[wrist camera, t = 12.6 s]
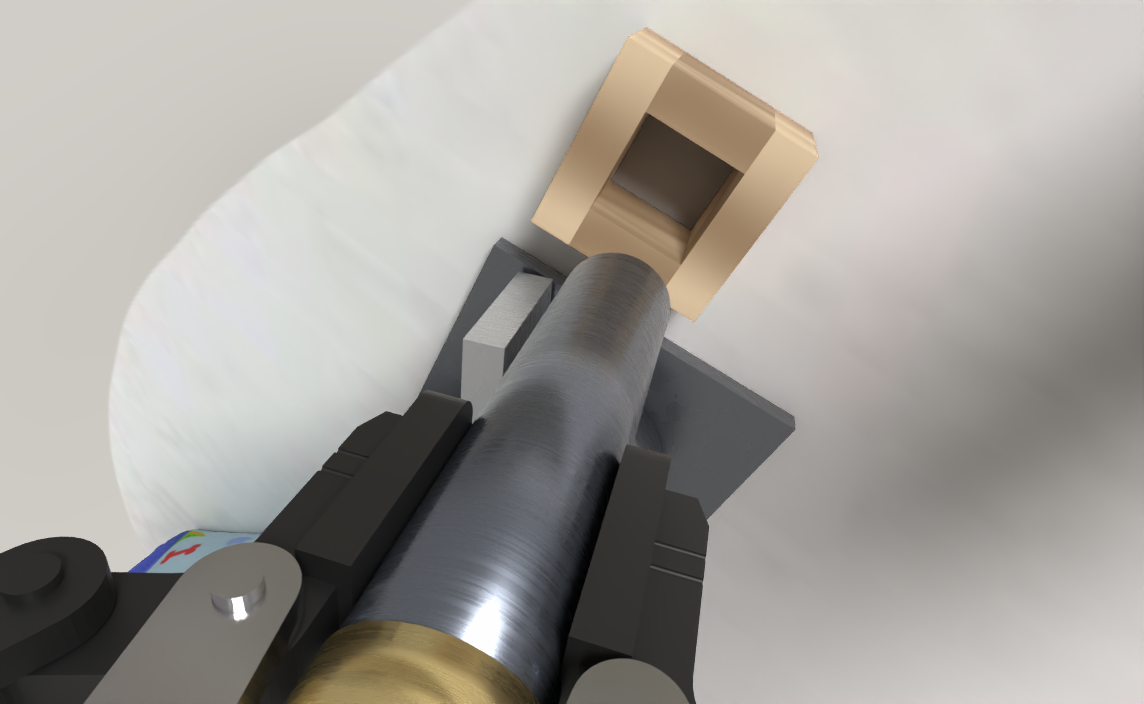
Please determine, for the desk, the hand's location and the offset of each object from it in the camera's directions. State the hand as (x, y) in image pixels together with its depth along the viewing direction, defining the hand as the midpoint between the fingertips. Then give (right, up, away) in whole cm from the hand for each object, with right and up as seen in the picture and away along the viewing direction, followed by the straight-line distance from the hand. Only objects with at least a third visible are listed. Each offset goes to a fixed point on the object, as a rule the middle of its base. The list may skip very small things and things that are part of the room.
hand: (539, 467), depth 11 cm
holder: (+5, +9, +17) cm, 20 cm away
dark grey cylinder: (+2, +3, +5) cm, 6 cm away
